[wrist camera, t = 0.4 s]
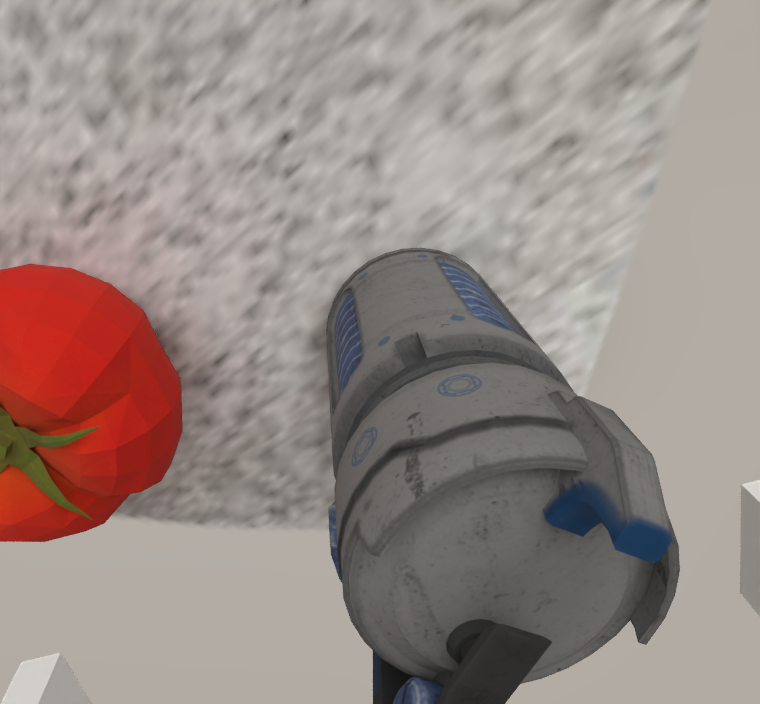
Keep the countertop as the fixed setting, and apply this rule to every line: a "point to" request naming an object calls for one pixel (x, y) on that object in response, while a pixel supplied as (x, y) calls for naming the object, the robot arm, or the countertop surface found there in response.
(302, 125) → the countertop surface
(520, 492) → the beverage bottle
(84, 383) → the tomato
